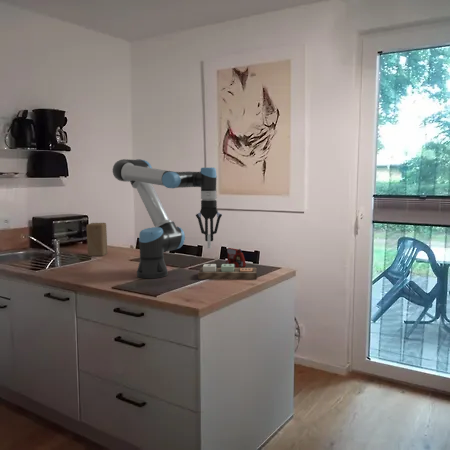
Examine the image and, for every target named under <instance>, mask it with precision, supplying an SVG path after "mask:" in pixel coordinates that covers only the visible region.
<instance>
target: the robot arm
mask: <svg viewBox="0 0 450 450" xmlns="http://www.w3.org/2000/svg"><path fill="white" fill-rule="evenodd" d="M112 174H113V177H114V178H115V179H116V180H117V181H120V182H127V183H128V182H129V183H130V184H131V187H132V188H133V189H136V190H137V193H138V195H139V197H140V199H141V201H142V203H143V205H144V207H145V209H146V211H147V214H148V215H149V217H150V219H151V221H152V224H153V227H147V228H144V229H141V230H140V231H139V238H138V241H139V243H138V245H139V263H138V267H137V271H136V276H137V277H138V278H139V279H140V278H141V279H157V278H163V277H166V276H168V275H169V273H168V272H169V271H168V267H167V265H166V261H165V259H164V258H165V257H164V253H166V252H170V251H176V250H178V249H181V248H182V246H183V245H184V243H185V240H186V239H185V238H186V236H185V235H186V234H185V232H184V230H183V229H182V227H180V226H177V225H176V222H175V221H174V220H171V219H170V218H169V215H168V214H167V211H166V208H164V205H163V204H162V201H161V200H160V197H159V195H158V193H157V191H156V188H155V187H154V185H157V186H162V187H165V188H166V189H177V188H179V189H181V188H200V199H201V200H200V210H199V212H198V213H196V214H195V217H196V219H197V220H198V225H199V229H200V232H201V234H202V235H204V239H205V242H207V249H211V248H212V242H214V235H215V234H217V233H218V229H219V224H220V220H221V218H222V216H223V213H220V212H219V211H218V208H217V207H218V206H217V202H218V201H217V198H218V197H217V196H218V194H217V177H218V176H217V169H216V168H215V167H201V168H200V170H199V171H174V170H173V171H172V170H166V169H159V168H153V167H152V165H151V163H150V162H149V161H147V160H145V159H139V158H138V159H127V158H124V159H120V160H118V161H116V162H115V163H114V165H113V166H112ZM215 216H216V218H217V219H216V223H215V227H214V219H215ZM202 217H203V218H204V225H203V221H202ZM209 220H210V221H209ZM209 227H210V231H209ZM209 232H210V233H209Z"/></svg>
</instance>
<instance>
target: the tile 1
mask: <svg viewBox="0 0 450 450" xmlns="http://www.w3.org/2000/svg"><path fill="white" fill-rule="evenodd" d="M202 268H203V272H216V268H217V264H216V263H204V264H203V266H202Z"/></svg>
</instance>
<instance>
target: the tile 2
mask: <svg viewBox="0 0 450 450" xmlns="http://www.w3.org/2000/svg"><path fill="white" fill-rule="evenodd" d="M220 268H221V272H234V264H225V263H222V264H221V265H220Z"/></svg>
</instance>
